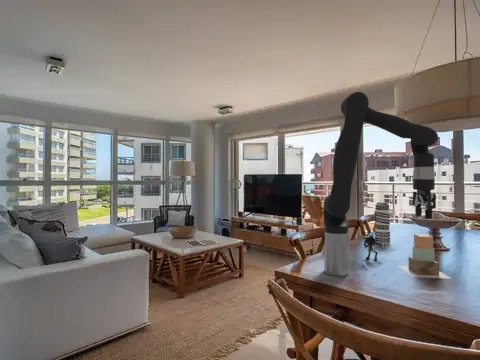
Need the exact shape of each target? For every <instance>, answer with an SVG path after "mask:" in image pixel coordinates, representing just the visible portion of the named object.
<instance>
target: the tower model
mask: <svg viewBox="0 0 480 360" xmlns="http://www.w3.org/2000/svg"><path fill="white" fill-rule="evenodd" d="M373 215H374V216H373V217H374V224H375V228H374V229H375V230H374V238H375V239H377V240H380V241H376V242H380V243H381V244H382V245H384V244H387V245H391V232H390V230H391V229H390V225H391V214H390V204H389V203H388V202H386V201H385V202H384V201H377V202H376V203H375V210H374V213H373Z"/></svg>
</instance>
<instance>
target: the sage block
mask: <svg viewBox="0 0 480 360" xmlns="http://www.w3.org/2000/svg"><path fill="white" fill-rule="evenodd" d="M412 257H413V258H414V259H415V260H417V261H427V262H434V260H435V248H433V249H419V248H417V247H415V246H414V245H412Z"/></svg>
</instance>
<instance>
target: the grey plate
mask: <svg viewBox="0 0 480 360" xmlns="http://www.w3.org/2000/svg"><path fill="white" fill-rule="evenodd" d="M398 267H399V268H400V269H401V270H403V271H404V272H406V273H407V274H408V275H409V276H411V277H412V278H430V279H432V278H433V279H451V280H452V278H451V277H450V276H449V275H447V274H445V273H444V272H441V271H440V270H439V276H438V275H417V274H416V273H414V272H413V271H412V270H410V269H409V265H408V266H407V265H398Z"/></svg>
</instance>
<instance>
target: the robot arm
mask: <svg viewBox="0 0 480 360" xmlns="http://www.w3.org/2000/svg"><path fill="white" fill-rule="evenodd" d="M369 103H370V102H369V98H368V95H366V94H365V93H364V92H362V91H355V92H352V93H351V94H349V95H348V96H347V97H345V99H344V100H342V102H341V105H340V111H341V114H342V115H343V116H345V117H344V122H343V123H344V124H343V127H342V130H341V131H340V135H339V136H338V139H337V141H336V144H335V150H334V152H333V153H334V154H333V159H332V160H333V161H332V171H333V172H332V173H333V174H332V175H333V178H332V180H333V182H332V186H331V191H330V194H328V195H327V196H326V197H325V198H324V201H323V225H324V248H323V262H324V263H323V268H324V269H323V270H324V273H325V275H329V276H333V277H334V276H335V277H345V276H348V275H349V225H348V223H347V216H346V215H347V213H348V212H349V210H350V207H351V194H352V186H353V185H352V184H353V180H354V175H355V172H356V168H357V164H358V163H357V162H358V158H359V157H358V156H359V151H360V144H361V139H362V131H363V126H364V123H366V124H368V125H372V126H374V127H377V128H379V129H382V130H384V131H386V132H388V133H390V134H392V135H394V136H397V137H399V138H402V139H410V148H411V150H412V151H411V152H412V156H413V171H412V189H413V190H416V191H412V205H413V206H414V208H415V210H414V211H415V212H414V214H415V217H422V215H423V214H422V210H423V209H422V207H423V206H424V211H425V212H424V218H425V219H426V220H432V219H433V210H434V209H436V208H437V202H436V201H437V200H436V199H437V198H436V196H437V194H436V192H432V191H434V190H435V186H436V185H435V184H436V182H435V179H436V178H435V177H436V175H435V174H436V173H435V155H434V153H432V152H430V149H429V147H431V146H433V145H435V144H436V143H437V142H438V140H439V134H438V133H437V131H436V130H434V129H433V128H431V127H428V126H425V125H422V124H418V123H414V122H411V121H410V120H408V119H405V118H403V117H401V116H398V115H395V114H391V113H389V112H384V111H383V112H382V111H379V110H376V109H373V108H371V107H369V105H370V104H369Z"/></svg>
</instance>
